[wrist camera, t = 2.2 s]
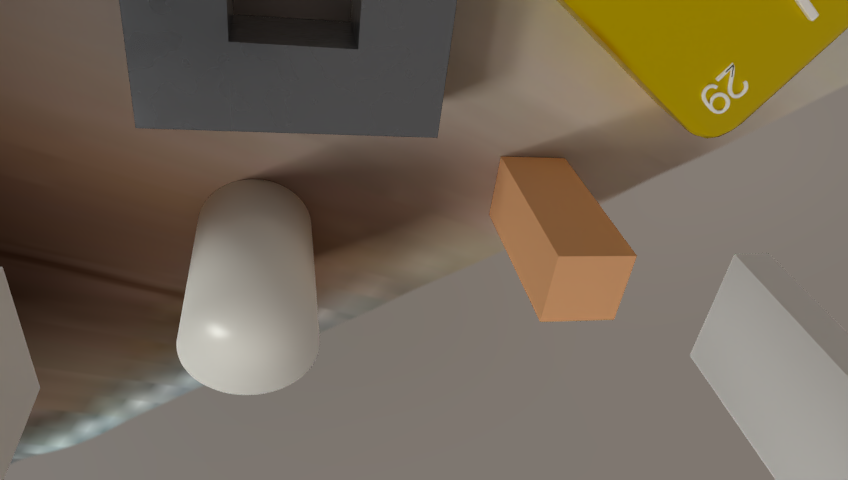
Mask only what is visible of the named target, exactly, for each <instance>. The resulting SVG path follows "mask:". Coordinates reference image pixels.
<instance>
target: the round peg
mask: <svg viewBox="0 0 848 480" xmlns="http://www.w3.org/2000/svg"><path fill="white" fill-rule="evenodd" d="M319 347H320V336H319V322H318V308H317V295H316V281H315V268H314V254H313V240H312V227H311V219H310V215H309V212H308V209H307V208H306V206H305V204H304V203H303V202H302V200H301V199H300V198H299V197H298V196H297V195H296V194H295V193H294V192H292V191H291V190H289V189H288V188H286V187H284V186H282V185H280V184H278V183H274V182H271V181H267V180H260V179H246V180H240V181H236V182H232V183H229V184H227V185H225V186H223V187H221V188H219V189H218V190H216V191H215V192H214V193H213V194H211V195H210V196H209V197H208V199H207V200H206V201H205V203H204V204H203V206H202V208H201V210H200V213H199V217H198V223H197V229H196V234H195V240H194V246H193V251H192V257H191V263H190V268H189V274H188V280H187V285H186V291H185V297H184V302H183V308H182V314H181V319H180V325H179V331H178V336H177V353H178V357H179V359H180V362H181V363H182V365H183V367H184V368H185V369H186V371H187V372H188V373H189V374H190V375H191V376H192V377H193V378H195V379H196V380H197V381H199V382H200V383H202V384H204V385H206V386H208V387H210V388H213V389H215V390H218V391H221V392H225V393H230V394H238V395H255V394H263V393H269V392H272V391H276V390H279V389H281V388H284V387H286V386H288V385H290V384H292V383H294V382H295V381H297V380H298V379H300V378H301V377H302V376H303V375H304V374H306V373H307V371H308V370H309V369H310V368H311V367H312V365H313V364H314V362H315V360H316V358H317V356H318V352H319Z"/></svg>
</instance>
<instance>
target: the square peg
mask: <svg viewBox="0 0 848 480" xmlns="http://www.w3.org/2000/svg"><path fill="white" fill-rule="evenodd" d="M489 215H490V217H491V219H492V222H493V224H494V226H495V228H496V230H497V232H498V234H499V236H500V238H501V240H502V243H503V245H504V247H505V249H506V251H507V253H508V255H509V257H510V259H511V262H512V264H513V266H514V268H515V270H516V272H517V274H518V276H519V278H520V281H521V283H522V285H523V287H524V289H525V291H526V293H527V295H528V297H529V299H530V302H531V303H532V306H533V308H534V310H535V312H536V314H537V316H538V318H539V320H540V322H551V321H588V320H614V318H615V316H616V312H617V310H618V307H619V304H620V302H621V299H622V296H623V293H624V291H625V288H626V285H627V282H628V280H629V277H630V274H631V271H632V268H633V266H634V263H635V260H636V257H637V255H636V254H635V253H634V251H633V250H632V249H631V247H630V246H629V245H628V243H627V242H626V240H625V239H624V238H623V236H622V235H621V234H620V232H619V231H618V230H617V228H616V227H615V225H614V224H613V223H612V222H611V220H610V219H609V218H608V216H607V215H606V213H605V212H604V211H603V209H602V208H601V206H600V205H599V204H598V202H597V201H596V200H595V198H594V197H593V196H592V194H591V193H590V192H589V190H588V189H587V188H586V186H585V185H584V183H583V182H582V181H581V179H580V178H579V177H578V175H577V174H576V173H575V171H574V170H573V169H572V167H571V166H570V164H569V163H568V162H567V160H566V159H565V158H539V157H501V159H500V164H499V168H498V173H497V178H496V183H495V188H494V193H493V198H492V203H491V208H490V213H489Z"/></svg>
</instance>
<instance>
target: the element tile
mask: <svg viewBox="0 0 848 480" xmlns="http://www.w3.org/2000/svg"><path fill="white" fill-rule="evenodd" d="M557 1H558V2H559V3H560V4H561V5H562V6H563V7H564V8H565V9H566V10H567V11H568V12H569V13H570V15H571V16H572V17H573V18H574V19H575V20H576V21H577V22H578V23H579V24H580V25H581V26H582V27H583V28H584V29H585V30H586V31H587V32H588V33H589V34H590V35H591V36H592V37H593V38H594V39H595V40H596V41H597V42H598V43H599V44H600V45H601V46H602V47H603V48H604V49H605V50H606V52H607V53H608V54H609V55H610V56H611V57H612V58H613V59H614V60H615V61H616V62H617V63H618V64H619V65H620V66H621V67H622V68H623V69H624V70H625V71H626V72H627V73H628V74H629V75H630V76H631V77H632V78H633V79H634V80H635V81H636V82H637V83H638V84H639V85H640V86H641V88H642V89H643V90H644V91H645V92H646V93H647V94H648V95H649V96H650V97H651V98H652V99H653V100H654V101H655V102H656V103H657V104H658V105H659V106H660V107H661V108H662V109H664V110H665V111H666V112H667V113H668V114H669V115H670V116H672V117H673V118H674V119H675V120H676V121H677V122H678V123H679V124H681V125H682V126H683V127H684V128H685V129H686V130H687V131H689V132H690V133H692V134H694V135H697V136H701V137H704V138H713V137H719V136H721V135H723V134H726V133H728V132H730V131H732V130H733V129H735V128H736V127H737V126H739V125H740V124H741V123H743V122H744V121H745V120H746V119H747V118H748V117H749V116H750V115H751V114H753V113H754V112H755V111H756V110H757V109H758V108H759V107H760V106H762V105H763V104H764V103H765V102H766V101H767V100H768V99H769V98H770V97H772V96H773V95H774V94H775V93H776V92H777V91H778V90H779V89H780V88H782V87H783V86H784V85H785V84H786V83H787V82H788V81H789V80H790V79H792V78H793V77H794V76H795V75H796V74H797V73H798V72H799V71H800V70H802V69H803V68H804V67H805V66H806V65H807V64H808V63H809V62H811V61H812V60H813V59H814V58H815V57H816V56H817V55H818V54H819V53H821V52H822V51H823V50H824V49H825V48H826V47H827V46H828V45H829V44H831V43H832V42H833V41H834V40H835V39H836V38H837V37H838V36H839V35H841V34H842V33H843V32H844V31H845V30H846V29H847V28H848V0H557Z"/></svg>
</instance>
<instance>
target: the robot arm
mask: <svg viewBox="0 0 848 480" xmlns="http://www.w3.org/2000/svg"><path fill="white" fill-rule="evenodd" d="M690 357H691V358H692V359H693V361H694V362H695V364H696V365H697V366H698V368H699V370H700V371H701V372H702V374H703V375H704V377H705V378H706V380H707V381H708V383H709V384H710V386H711V387H712V388H713V390H714V391H715V393H716V394H717V396H718V397H719V399H720V400H721V401H722V403H723V404H724V406H725V407H726V409H727V410H728V412H729V413H730V414H731V416H732V417H733V419H734V420H735V422H736V423H737V425H738V426H739V428H740V429H741V430H742V432H743V433H744V435H745V436H746V438H747V439H748V441H749V442H750V444H751V445H752V447H753V448H754V449H755V451H756V452H757V454H758V455H759V457H760V458H761V459H762V461H763V462H764V464H765V465H766V467H767V468H768V470H769V471H770V473H771V474H772V476H773V477H774V478H775V480H848V333H847V331H845V329H844V328H843V327H842V326H840V324H839V323H838V322H837V321H836V320H835V319H833V317H832V316H831V315H830V314H829V313H827V311H826V310H825V309H824V308H823V307H822V306H821V305H820V304H819V303H818V302H817V301H815V299H814V298H813V297H812V296H810V294H809V293H808V292H807V291H805V290H804V288H803V287H802V286H801V285H800V284H799V283H798V282H797V281H796V280H795V279H794V278H793V277H792V276H791V275H790V274H789V273H788V272H787V271H786V270H785V269H784V268H783V267H782V266H781V265H780V264H779V263H778V262H777V261H776V260H775V259H774V258H773V257H772V256H771V255H770V254H769V253H758V254H756V253H755V254H734V257H733V258H732V261H731V263H730V265H729V267H728V270H727V272H726V274H725V277H724V279H723V281H722V283H721V286H720V288H719V290H718V292H717V295H716V297H715V299H714V302H713V304H712V306H711V309H710V311H709V313H708V316H707V317H706V320H705V322H704V324H703V326H702V329H701V331H700V333H699V336H698V338H697V340H696V343H695V345H694V347H693V349H692V351H691V354H690ZM39 389H40V386H39V383H38V379H37V376H36V373H35V370H34V366H33V363H32V360H31V357H30V354H29V350H28V347H27V344H26V341H25V337H24V334H23V331H22V328H21V325H20V321H19V318H18V315H17V312H16V308H15V305H14V302H13V299H12V295H11V292H10V289H9V286H8V283H7V279H6V276H5V273H4V270H3V267H0V480H4V478H5V475H6V473H7V470H8V468H9V465H10V463H11V460H12V458H13V455H14V453H15V450H16V448H17V445H18V442H19V440H20V437H21V435H22V432H23V430H24V427H25V425H26V422H27V420H28V417H29V415H30V412H31V410H32V407H33V405H34V402H35V399H36V397H37V394H38V392H39Z"/></svg>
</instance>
